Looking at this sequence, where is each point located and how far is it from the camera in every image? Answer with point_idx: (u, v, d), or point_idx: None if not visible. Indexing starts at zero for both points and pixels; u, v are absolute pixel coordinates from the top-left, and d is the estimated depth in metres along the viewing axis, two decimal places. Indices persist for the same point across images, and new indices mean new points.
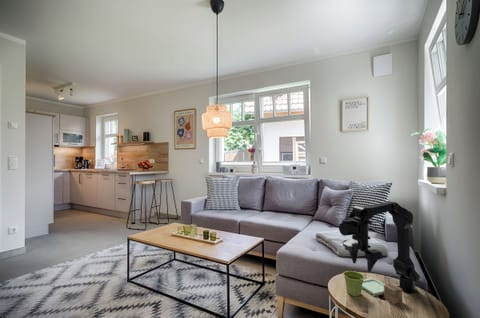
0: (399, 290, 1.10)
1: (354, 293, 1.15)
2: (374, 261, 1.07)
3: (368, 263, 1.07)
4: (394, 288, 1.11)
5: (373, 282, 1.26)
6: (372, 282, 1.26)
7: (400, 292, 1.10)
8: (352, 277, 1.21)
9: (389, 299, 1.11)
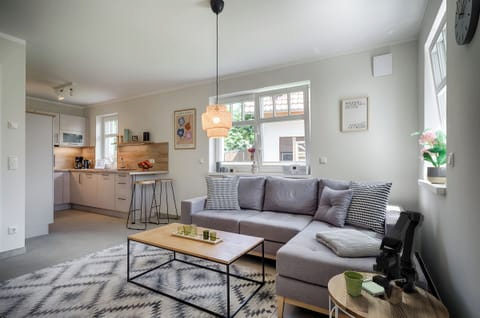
0: (399, 290, 1.10)
1: (354, 293, 1.15)
2: (388, 289, 1.09)
3: None
4: (394, 288, 1.11)
5: (373, 282, 1.26)
6: (372, 282, 1.26)
7: (400, 292, 1.10)
8: (352, 277, 1.21)
9: (389, 299, 1.11)
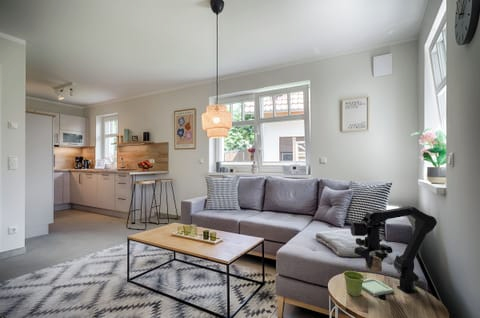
0: (379, 260, 1.20)
1: (354, 293, 1.15)
2: (369, 259, 1.20)
3: None
4: (375, 258, 1.21)
5: (373, 282, 1.26)
6: (372, 282, 1.26)
7: (380, 262, 1.21)
8: (352, 277, 1.21)
9: (370, 268, 1.21)
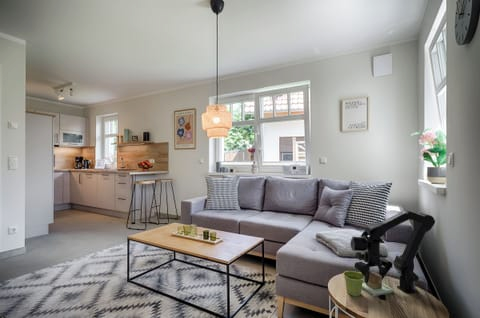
0: (379, 277, 1.20)
1: (354, 293, 1.15)
2: (365, 275, 1.19)
3: None
4: (375, 275, 1.21)
5: None
6: None
7: (380, 279, 1.20)
8: (352, 277, 1.21)
9: (370, 285, 1.21)
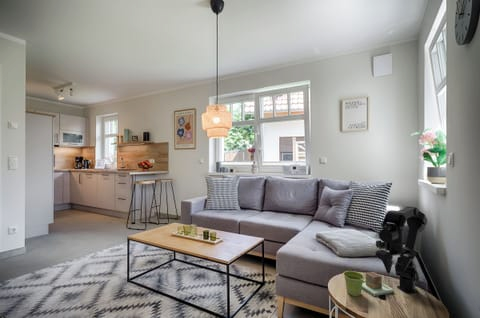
0: (379, 277, 1.20)
1: (354, 293, 1.15)
2: (388, 264, 1.11)
3: None
4: (375, 275, 1.21)
5: None
6: None
7: (380, 279, 1.20)
8: (352, 277, 1.21)
9: (370, 285, 1.21)
